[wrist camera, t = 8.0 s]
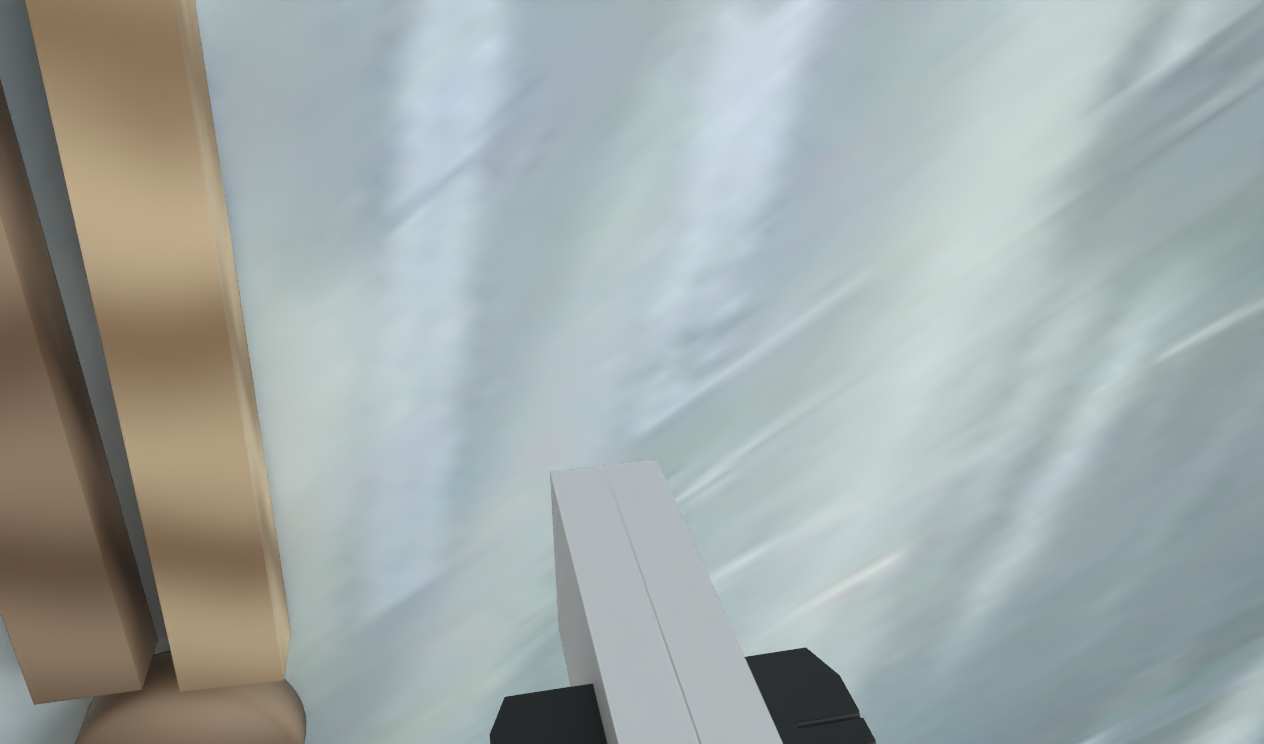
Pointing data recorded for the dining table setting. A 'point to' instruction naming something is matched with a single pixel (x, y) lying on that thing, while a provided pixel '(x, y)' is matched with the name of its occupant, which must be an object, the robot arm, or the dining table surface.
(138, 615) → the bar
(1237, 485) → the dining table surface
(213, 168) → the tongs swing jaw
